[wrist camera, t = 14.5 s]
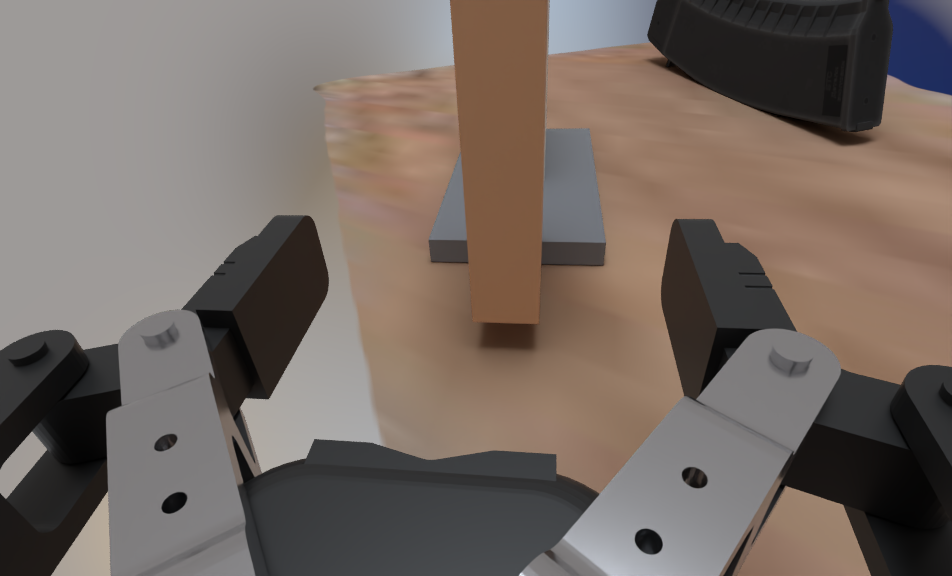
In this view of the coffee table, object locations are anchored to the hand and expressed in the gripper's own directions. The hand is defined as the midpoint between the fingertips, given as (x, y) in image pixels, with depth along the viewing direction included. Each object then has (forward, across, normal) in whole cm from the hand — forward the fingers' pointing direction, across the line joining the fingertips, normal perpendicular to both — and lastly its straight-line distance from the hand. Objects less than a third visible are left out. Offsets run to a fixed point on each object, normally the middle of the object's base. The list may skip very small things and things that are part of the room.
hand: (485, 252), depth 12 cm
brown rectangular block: (+12, 0, +9) cm, 15 cm away
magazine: (+48, -20, +12) cm, 53 cm away
